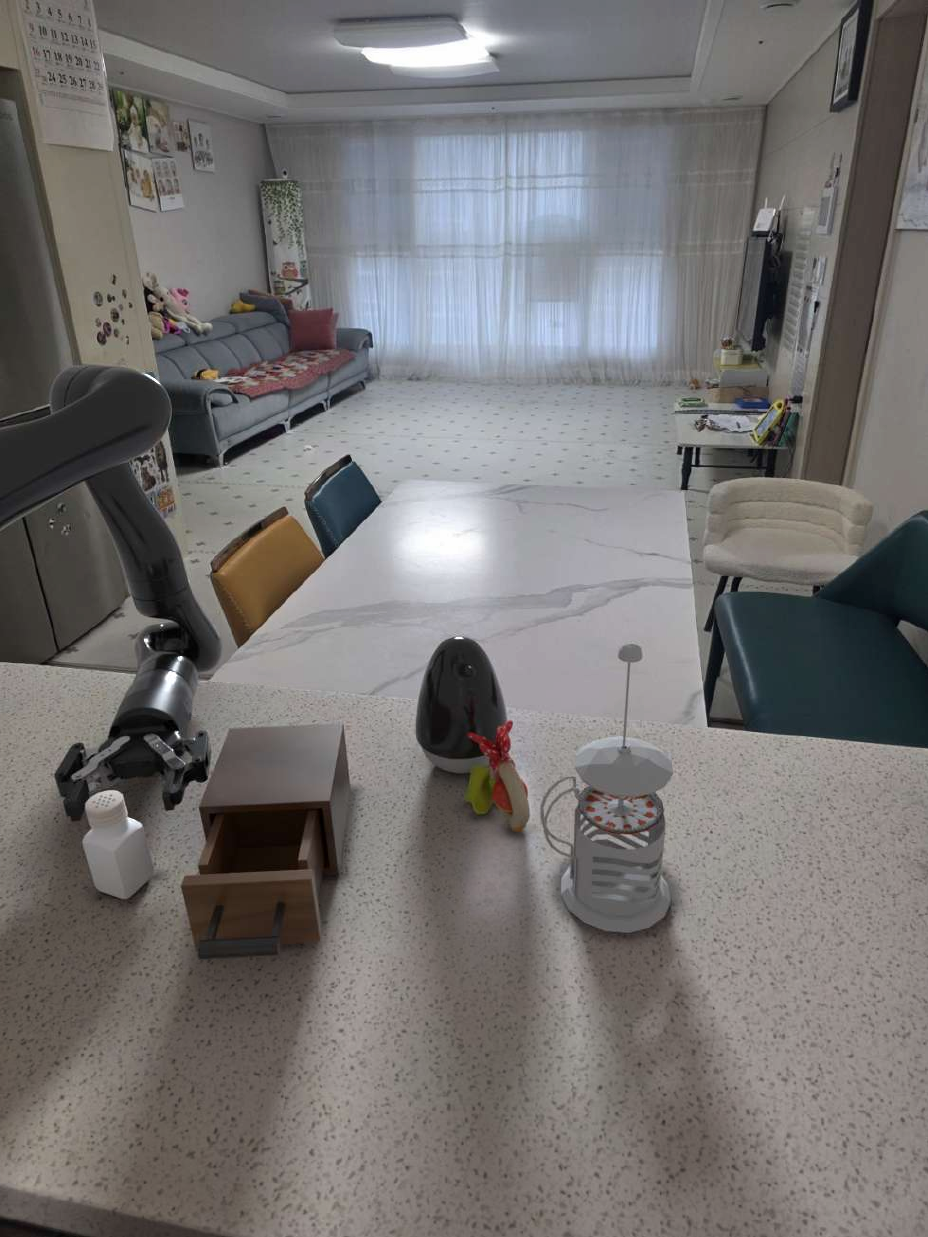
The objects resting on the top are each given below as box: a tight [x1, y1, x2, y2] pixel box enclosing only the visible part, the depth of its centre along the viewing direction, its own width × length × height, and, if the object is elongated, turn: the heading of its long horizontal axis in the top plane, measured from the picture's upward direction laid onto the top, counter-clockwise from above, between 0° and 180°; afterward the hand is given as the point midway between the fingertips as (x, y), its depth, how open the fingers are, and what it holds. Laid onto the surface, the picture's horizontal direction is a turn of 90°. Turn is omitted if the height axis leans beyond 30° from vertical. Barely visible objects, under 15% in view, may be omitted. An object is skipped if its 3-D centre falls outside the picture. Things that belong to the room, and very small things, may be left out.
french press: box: [539, 641, 674, 934], centre depth 68 cm, size 10×12×25 cm
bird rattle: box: [464, 719, 531, 832], centre depth 81 cm, size 6×11×9 cm
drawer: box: [180, 808, 327, 961], centre depth 70 cm, size 16×10×7 cm, turn 2°
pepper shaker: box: [81, 789, 155, 900], centre depth 75 cm, size 4×4×10 cm
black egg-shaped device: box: [415, 635, 509, 774], centre depth 89 cm, size 10×10×15 cm
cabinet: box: [198, 722, 352, 876], centre depth 80 cm, size 13×12×9 cm
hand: (120, 808), depth 77 cm, fingers open, 8 cm apart
